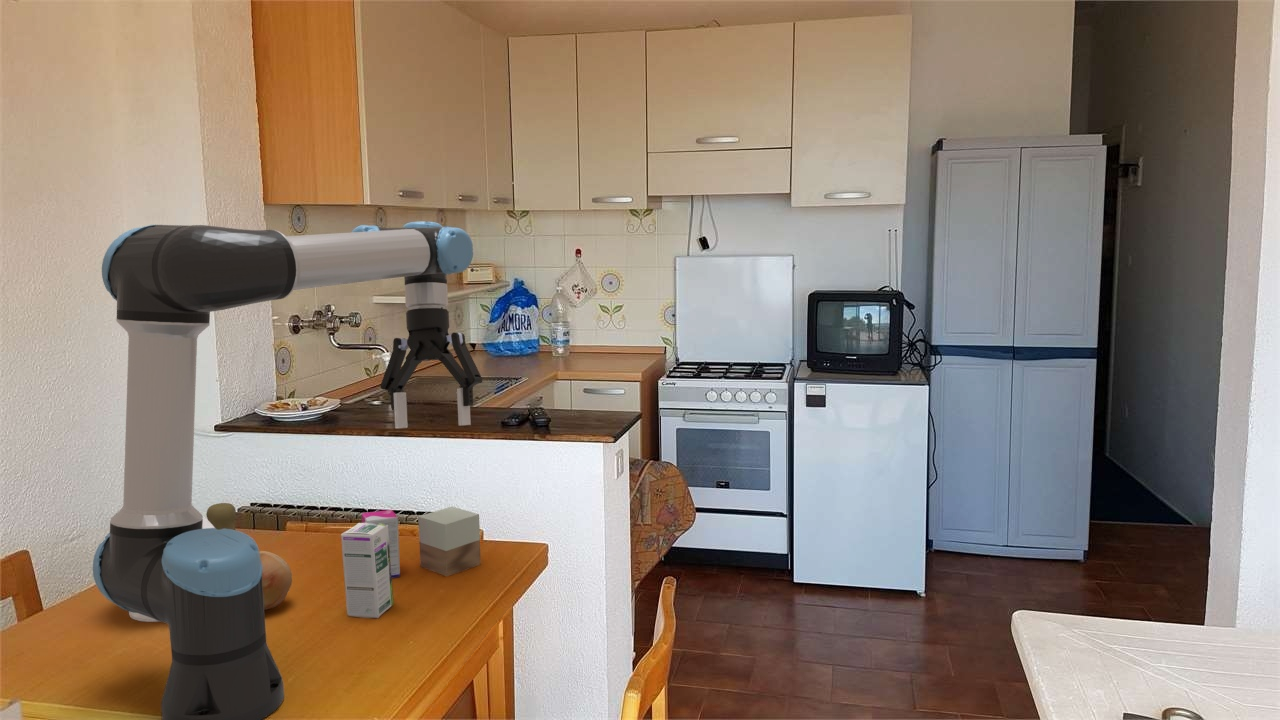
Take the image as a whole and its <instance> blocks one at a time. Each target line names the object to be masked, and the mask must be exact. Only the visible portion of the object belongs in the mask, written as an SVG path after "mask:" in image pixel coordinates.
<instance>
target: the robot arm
mask: <svg viewBox="0 0 1280 720" xmlns="http://www.w3.org/2000/svg"><path fill="white" fill-rule="evenodd" d="M473 257H474V244H473V241H472V238H471V236H470V235H469V234H468V232H467V231H466V230H464V229H462V228H459V227H454V226H453V227H450V226H442V224H441V223H438V222H434V221H424V220H421V221H411V222H408V223H405V224H404V225H403V226H402V227H383V226H382V227H381V226H378V225H367V224H361V225H359V226H356V227H354V228H353V229H352V230H351V232H338V233H335V232H334V233H321V234H320V233H319V234H304V235H301V234H300V235H288V236H287V235H285V234H283V233H282V232H281V231H279V230H277V229H261V230H260V229H256V230H255V229H239V228H232V227H224V226H223V227H222V226H215V225H205V224H196V225H195V224H193V225H180V224H179V225H177V224H150V225H146V226H142V227H136V228H131V229H129V230H126V231H125V232H124V233H122V234H120V235H119V236H118V237H117V238H115V239H114V240H113V241H112V242H111V244H109V246H108V248H107V249H106V251H105V253H104V256H103V259H102V263H101V278H102V282H103V285H104V288H105V289H106V291H107V292H109V294H110V296H111V298H112V299H114V300H115V301H116V320H115V321H116V322H117V323H118V324H119V325H120V326H121V328H122V329H123V330H125V331H126V332H127V335H128V343H127V344H128V347H127V348H128V349H127V351H128V352H127V375H126V376H127V377H126V378H127V379H126V382H127V383H126V404H125V405H126V410H125V440H124V466H123V467H124V471H123V472H124V473H123V474H124V475H123V503H122V504H123V505H122V507H121V509H120V510H118V511H117V512H116V513H115V514H114V515H113V516H112V517H111V518H110V520H109V532H108V533H107V534H106V535H105V536H104V540H103V541H102V542H100V543H99V545H98V546H97V548H96V550H95V553H94V555H93V560H92V576H93V580H94V583H95V585H96V587H97V589H98V591H99V592H100V594H102V595H103V597H105V599H107V600H108V601H110V602H112V603H113V604H115V605H116V606H118V607H119V608H120V609H122V610H125V611H127V612H129V611H130V612H133V613H139V614H142V615H145V616H147V617H150V618H153V619H156V620H158V621H159V622H161V623H164V624H167V625H168V629H169V640H170V650H171V651H170V652H171V664H170V668H169V671H168V675H167V679H166V682H165V687H164V691H163V693H162V697H161V698H162V699H161V702H160V703H161V704H160V707H161V708H160V710H161V719H162V720H263V719H265V718H266V717H268V716H269V715H271V714H272V713H274V712H275V711H276V710H277V709H278V708H279V707H280V706H281V704H282V703H283V701H284V699H285V690H284V680H283V676H282V674H281V672H280V670H279V667H278V666H277V663H276V661H275V659H274V656H273V655H272V652H271V650H270V648H269V646H268V642H267V634H266V620H265V617H266V616H265V610H264V601H263V585H262V571H263V567H262V563H261V559H260V554H259V551H260V549H259V546H258V544H257V542H256V541H255V539H254V538H253V537H252V536H250V535H248V534H247V533H245V532H242V531H239V530H236V529H235V530H232V529H221V530H217V529H216V528H206V529H202V524H203V516H204V515H203V514H202V512H200V511H199V510H198V509H196V507H195V506H194V505H193V503H192V500H193V470H194V469H193V467H194V464H193V463H194V442H195V441H194V439H195V438H194V436H195V412H196V409H195V408H196V386H197V385H196V382H197V380H196V378H197V355H198V354H197V352H198V351H197V350H198V349H197V348H198V347H197V346H198V337H199V336H200V334H202V333H203V331H205V330H206V329H207V328H208V327H209V326H210V320H211V319H210V317H211V312H217V311H218V312H219V311H223V310H229V309H234V308H238V307H243V306H249V305H253V304H254V305H255V304H257V303H264V302H269V301H276V300H282V299H285V298H287V297H288V296H290V295H291V294H292V293H293V291H300V290H306V289H307V290H308V289H313V288H322V287H331V286H339V285H348V284H355V283H356V284H357V283H362V282H363V283H364V282H370V281H372V282H373V281H379V280H388V279H396V278H404V297H405V298H404V299H405V301H404V302H405V307H406V308H407V309H408V310H407V311H406V312H405V316H406V318H405V319H406V320H405V321H406V329H407V332H408V336H407V338H404V337H394V339H393V343H392V344H393V345H392V351H391V355H390V357H389V361H388V363H387V366H386V369H385V372H384V375H383V377H382V380H381V383H380V388H381V390H385V391H388V392H389V393H390V408H391V410H392V411H393V412H394V428H395V429H407V428H408V425H409V424H408V408H407V407H408V402H407V392H405V390H404V388H405V387H406V385H407V384H408V382H409V381H410V379H411V377H412V376H413V374H414V373H415V370H416V369H417V367H418V365H420V364H421V363H422V362H428V361H439V362H441V363H442V364H443V366H444V367H445V368H446V369H447V371H448V372H449V373H450V375H451V377H453V378H454V380H455V381H456V382H457V383H458V384H459V386H458V387H459V388H458V387H457V388H456V396H457V397H456V398H457V399H456V400H457V419H458V420H457V421H458V422H457V423H458V426H460V427H461V426H471V425H472V423H471V422H472V421H471V406H473V405H474V392H473V391H474V387H475V386H476V385H478V384H481V383H483V378H482V375H481V374H480V371H479V369H478V367H477V365H476V363H475V361H474V359H473V357H472V355H471V352H470V351H469V349H468V347H467V344H466V337H465V334H464V333H462V332H452V333H451V334H449V328H450V316H449V315H450V314H449V312H450V311H449V310H448V309H447V308H446V307H448V306H449V296H448V295H449V294H448V279H447V278H448V276H447V275H452V274H460V273H463V272H464V271H466V270H467V269H468V268H469V267H470V266H471V264H472V262H473ZM449 345H451V346H452V348H453V351H454V353H455V355H456V357H457V359H458V361H459V363H460V364H459V363H458V362H457V360H456V359H455V358H454V355H453V353H452V352H451V351H450V349H449V348H448V347H449ZM409 349H410V350H409ZM407 350H409V351H408V353H407ZM406 354H407V356H406ZM202 515H203V516H202Z"/></svg>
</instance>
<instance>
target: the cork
mask: <svg viewBox="0 0 1280 720" xmlns="http://www.w3.org/2000/svg"><path fill="white" fill-rule="evenodd" d="M236 513H237V510H236V506H234V505H233V504H232V503H229V502H219V503H215V504H212V505H210V506H209V507H208V508H207V510H206V513H205V514H206V519H207V520H208V521H209V522H210V523H211V524H212V525H213V526H214V527H215V528H216V529H217V530H221V529H232V530H236V525H235V521H234V519H235V518H236V515H237V514H236Z"/></svg>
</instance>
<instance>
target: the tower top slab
mask: <svg viewBox="0 0 1280 720" xmlns="http://www.w3.org/2000/svg"><path fill="white" fill-rule="evenodd" d="M417 519H418V521H417V522H418V539H419V540H418V541H419V542H421V543H424V544H427V545H430V546H433V547H436V548H439V549H442V550H445V551H448V550H451V549H454V548H457V547H460V546H463V545H466V544H469V543H472V542H475V541H478V540H480V541H481V533H480V531H481V529H480V514H479V513H476V512H472V511H469V510H465V509H462V508H459V507H455V506H449V507H445V508H442V509H439V510H436V511H432V512H428V513H426V514H423V515H418V516H417Z"/></svg>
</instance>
